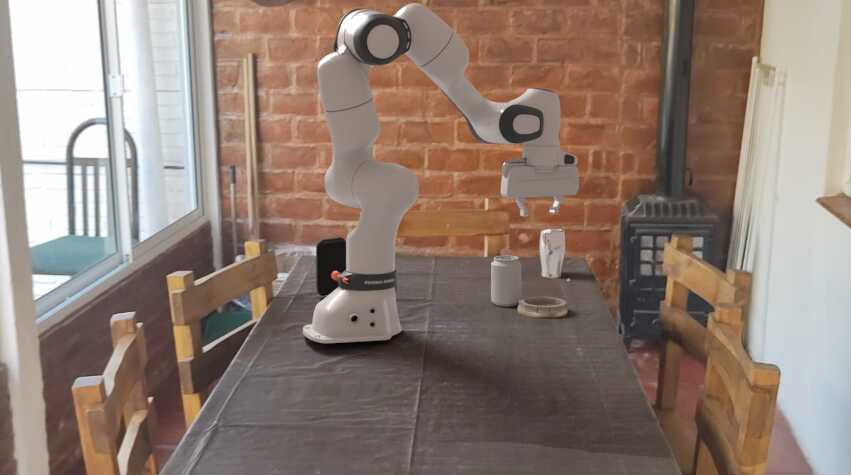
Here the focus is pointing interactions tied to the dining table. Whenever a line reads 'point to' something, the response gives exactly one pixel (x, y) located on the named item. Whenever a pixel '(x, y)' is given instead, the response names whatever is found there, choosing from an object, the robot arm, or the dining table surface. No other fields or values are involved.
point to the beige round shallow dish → (542, 307)
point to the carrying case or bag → (329, 263)
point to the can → (505, 281)
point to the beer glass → (552, 252)
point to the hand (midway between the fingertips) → (539, 215)
